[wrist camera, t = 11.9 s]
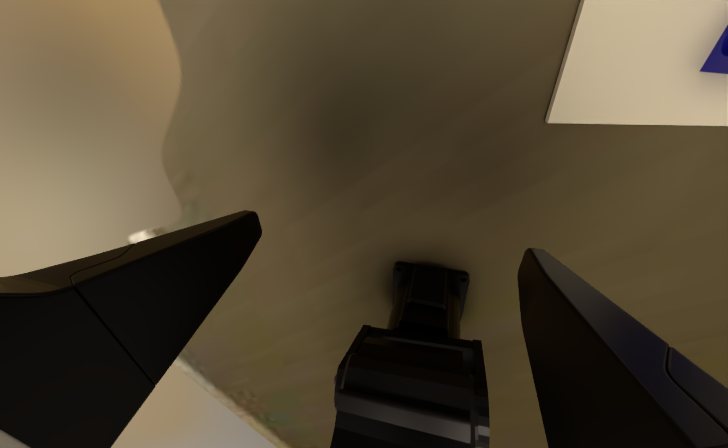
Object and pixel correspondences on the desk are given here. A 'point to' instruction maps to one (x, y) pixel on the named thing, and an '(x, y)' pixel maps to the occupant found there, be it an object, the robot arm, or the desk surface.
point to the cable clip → (718, 56)
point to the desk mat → (642, 64)
